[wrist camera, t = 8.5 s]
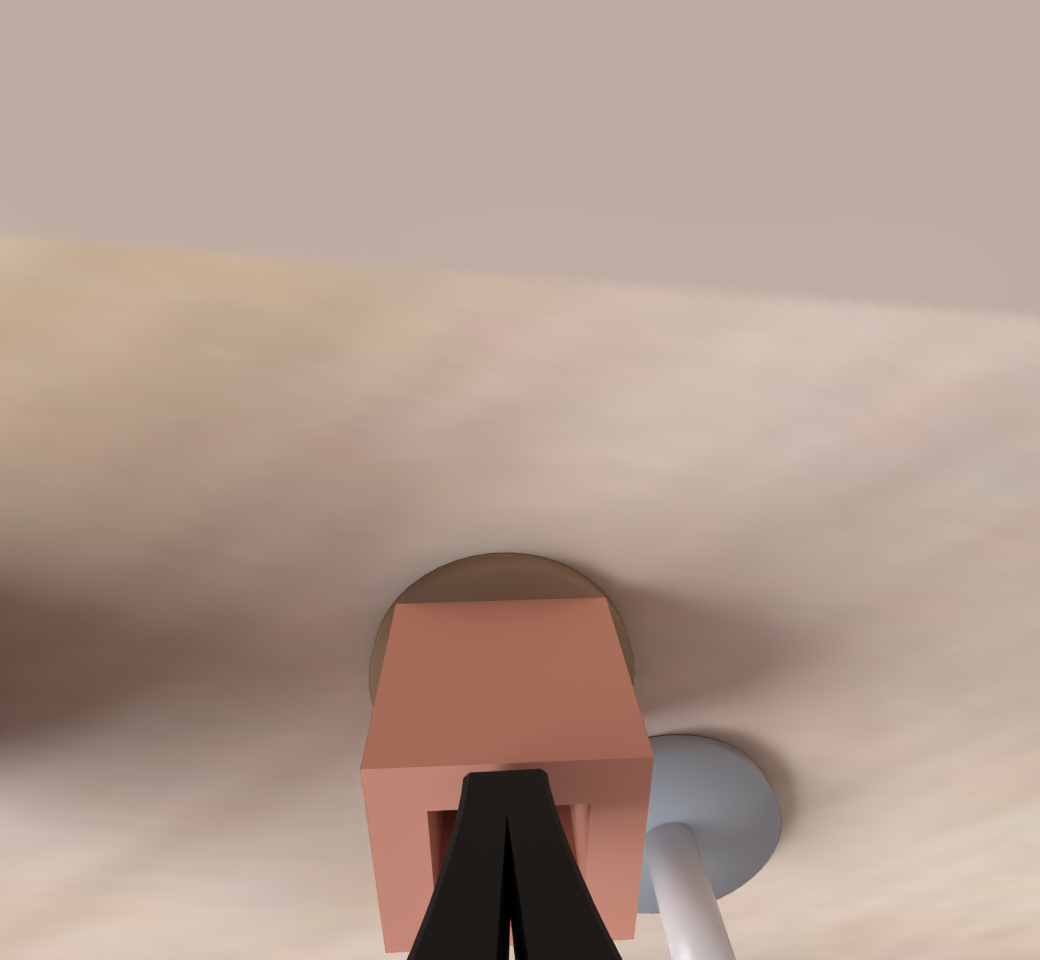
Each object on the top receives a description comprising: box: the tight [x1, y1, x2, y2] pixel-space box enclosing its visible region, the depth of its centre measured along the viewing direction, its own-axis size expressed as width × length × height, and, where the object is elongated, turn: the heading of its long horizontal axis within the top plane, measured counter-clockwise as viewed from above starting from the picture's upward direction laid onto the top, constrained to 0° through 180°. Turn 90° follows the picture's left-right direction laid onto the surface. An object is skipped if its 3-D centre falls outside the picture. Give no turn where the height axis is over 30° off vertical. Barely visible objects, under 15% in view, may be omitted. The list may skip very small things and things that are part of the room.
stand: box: [637, 735, 782, 960], centre depth 18 cm, size 7×7×5 cm
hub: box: [369, 553, 634, 705], centre depth 16 cm, size 7×7×5 cm
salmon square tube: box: [360, 597, 654, 953], centre depth 15 cm, size 5×5×5 cm
